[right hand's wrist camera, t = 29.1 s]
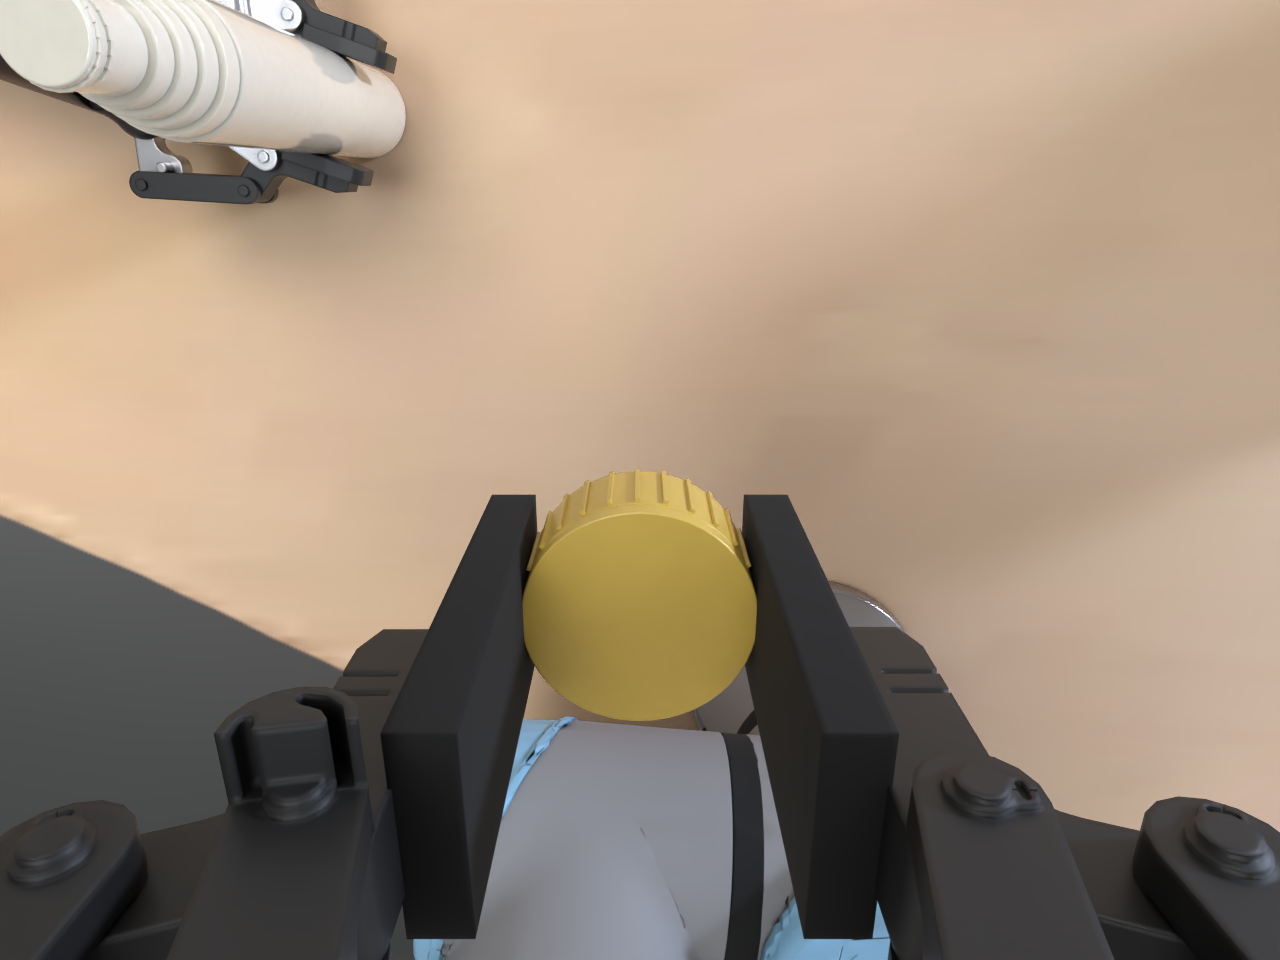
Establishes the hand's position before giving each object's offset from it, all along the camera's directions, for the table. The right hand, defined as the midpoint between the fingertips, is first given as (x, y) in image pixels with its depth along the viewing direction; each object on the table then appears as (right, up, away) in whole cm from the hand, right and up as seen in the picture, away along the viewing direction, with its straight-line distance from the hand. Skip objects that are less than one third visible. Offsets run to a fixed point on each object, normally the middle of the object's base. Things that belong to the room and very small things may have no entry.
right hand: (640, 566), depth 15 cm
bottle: (-15, +21, +30) cm, 39 cm away
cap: (0, -1, -2) cm, 2 cm away
